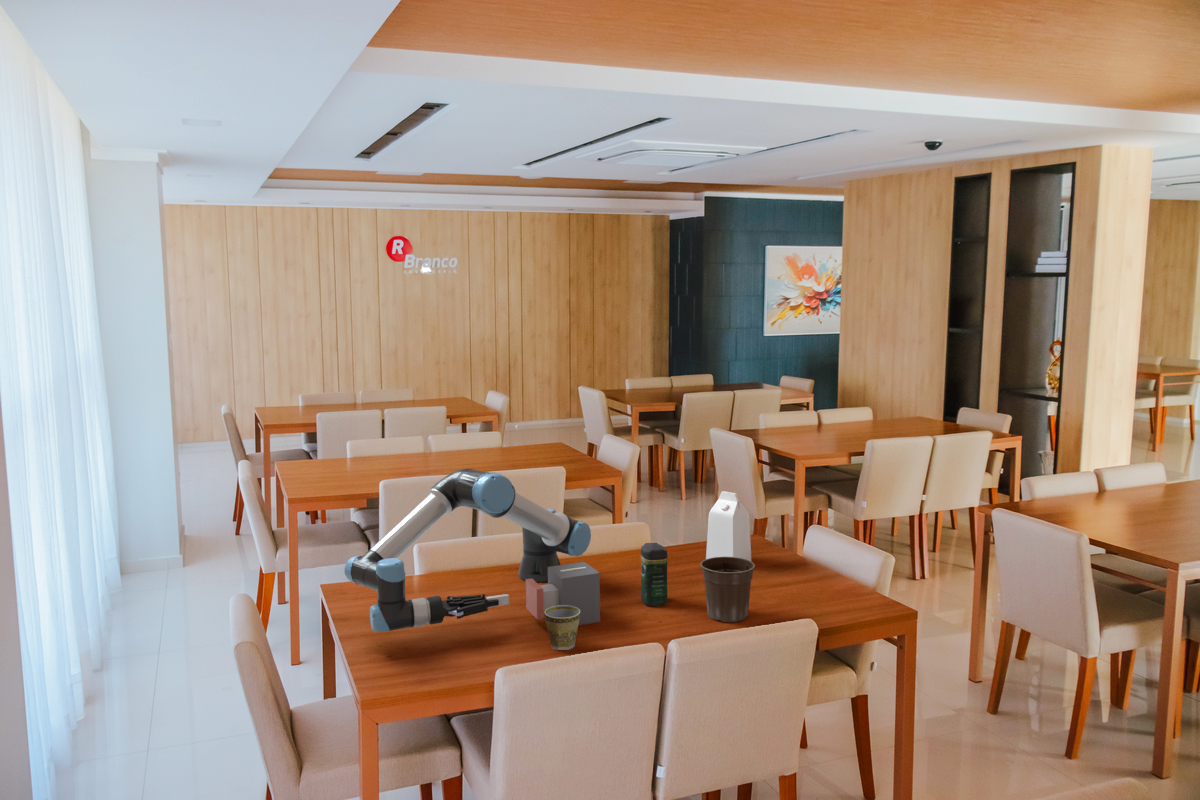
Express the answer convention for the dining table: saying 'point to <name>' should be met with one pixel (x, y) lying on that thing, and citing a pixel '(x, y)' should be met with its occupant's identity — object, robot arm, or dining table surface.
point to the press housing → (578, 589)
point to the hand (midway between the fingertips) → (508, 599)
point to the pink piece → (540, 597)
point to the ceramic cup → (562, 626)
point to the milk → (728, 528)
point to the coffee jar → (653, 574)
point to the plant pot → (727, 587)
